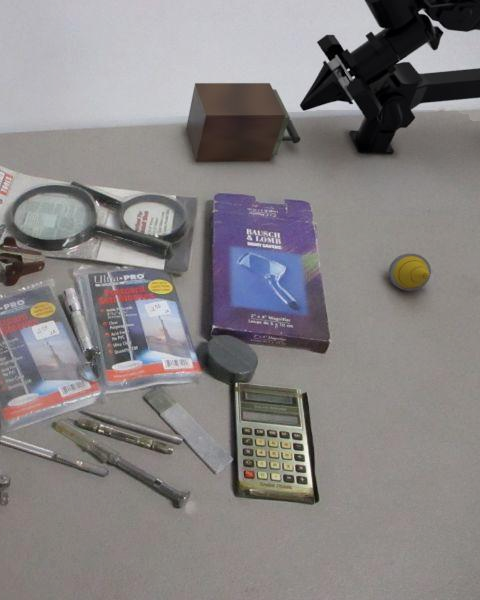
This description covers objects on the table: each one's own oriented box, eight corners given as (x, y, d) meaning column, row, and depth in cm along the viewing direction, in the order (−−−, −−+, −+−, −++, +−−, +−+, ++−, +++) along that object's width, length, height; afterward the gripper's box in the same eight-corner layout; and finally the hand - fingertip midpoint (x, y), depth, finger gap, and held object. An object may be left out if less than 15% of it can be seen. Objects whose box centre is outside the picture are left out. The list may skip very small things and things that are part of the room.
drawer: (285, 126, 111) (298, 89, 105) (299, 155, 105) (313, 117, 99) (198, 127, 110) (207, 89, 104) (208, 155, 104) (217, 117, 98)
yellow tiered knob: (425, 280, 89) (457, 285, 79) (390, 294, 90) (416, 300, 80) (412, 247, 88) (441, 248, 79) (376, 261, 89) (401, 264, 80)
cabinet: (256, 128, 112) (269, 82, 104) (269, 161, 105) (285, 114, 98) (185, 129, 111) (194, 82, 104) (195, 162, 104) (205, 115, 97)
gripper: (432, 110, 94) (339, 167, 102) (387, 51, 106) (306, 107, 114) (406, 63, 87) (309, 128, 95) (361, 6, 99) (278, 68, 107)
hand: (301, 108), depth 103 cm, fingers closed
